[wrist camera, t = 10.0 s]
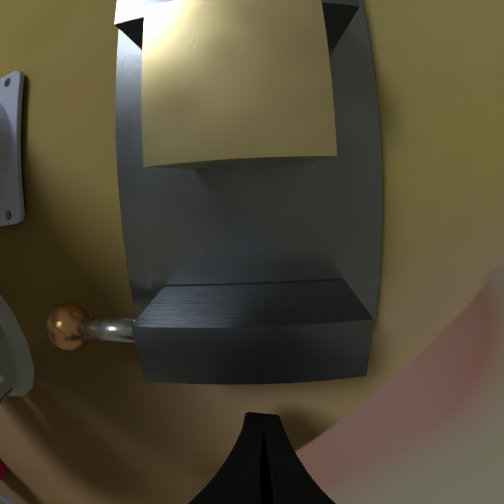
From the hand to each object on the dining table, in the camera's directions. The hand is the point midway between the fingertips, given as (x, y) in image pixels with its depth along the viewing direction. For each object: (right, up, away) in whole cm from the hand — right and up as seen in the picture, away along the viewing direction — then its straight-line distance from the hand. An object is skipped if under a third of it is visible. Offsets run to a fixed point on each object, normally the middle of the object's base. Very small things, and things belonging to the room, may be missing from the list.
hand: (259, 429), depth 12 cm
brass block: (-1, +12, -1) cm, 12 cm away
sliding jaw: (-3, +5, 0) cm, 6 cm away
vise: (-1, +12, 0) cm, 12 cm away
